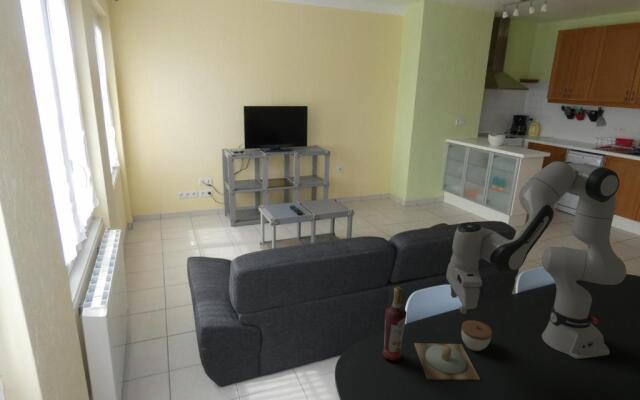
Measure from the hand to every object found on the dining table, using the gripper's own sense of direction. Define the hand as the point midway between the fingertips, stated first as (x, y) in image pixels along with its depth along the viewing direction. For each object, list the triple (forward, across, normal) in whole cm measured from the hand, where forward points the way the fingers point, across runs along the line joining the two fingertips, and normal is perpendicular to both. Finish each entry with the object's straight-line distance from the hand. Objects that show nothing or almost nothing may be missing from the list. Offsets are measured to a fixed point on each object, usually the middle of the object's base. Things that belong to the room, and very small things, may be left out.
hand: (458, 304), depth 134 cm
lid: (+21, +3, -3) cm, 22 cm away
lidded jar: (+22, -6, +11) cm, 26 cm away
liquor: (+22, +1, -22) cm, 31 cm away
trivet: (+22, +3, -3) cm, 22 cm away
